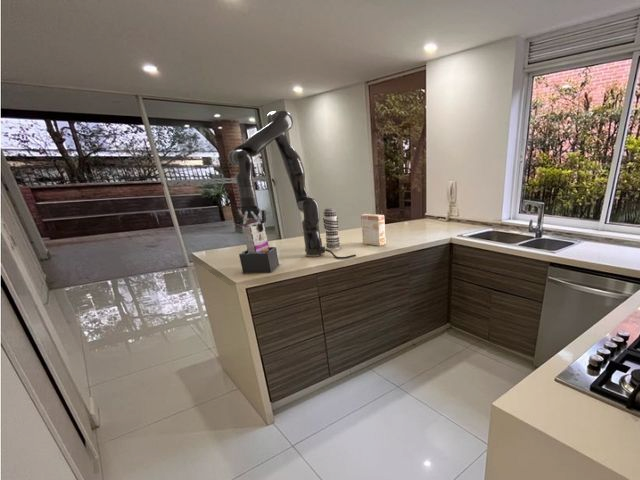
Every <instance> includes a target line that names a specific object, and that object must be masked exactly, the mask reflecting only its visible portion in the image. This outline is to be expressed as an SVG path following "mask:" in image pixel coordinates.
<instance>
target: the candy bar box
mask: <svg viewBox="0 0 640 480" xmlns="http://www.w3.org/2000/svg"><path fill="white" fill-rule="evenodd" d="M258 224H259V223H258V222H257V221H255V222H250V223H247V225H244V224H243V225H241V229H242V232H243V237H244V241H245V246H246V250H248V254H257V253H267V252H269V251H270V250H269V247H270V245H269V241H268V237H267V231H266V226H265V222H264V223H263V231H262V232H260V230H259V225H258Z"/></svg>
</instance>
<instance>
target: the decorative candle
mask: <svg viewBox="0 0 640 480" xmlns="http://www.w3.org/2000/svg"><path fill="white" fill-rule="evenodd" d="M322 212H323V218H322V223H323V228H324V231H325V242H326V243H325V245H326V250H329V251H335V250H340V249H341V245H340V244H341V243H340V236H339V226H338V225H339V223H338V222H339V221H338V220H339V217H338V216H337V210H336V209H335V208H334V207H327V208H324V209H323V211H322Z"/></svg>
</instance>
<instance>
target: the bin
mask: <svg viewBox="0 0 640 480" xmlns="http://www.w3.org/2000/svg"><path fill="white" fill-rule="evenodd" d="M269 250H270V251H269V252H267V253H257V254H248V250H247V249H245V250H243V251H241V252H240V253H239V254H238V257H239V262H240V265H241V266H240V267H241V270H242V274H271V273H272V272H273V271H275V270H276V269H277V268H278V267H279V265H280V261H279V256H278V249H277V246H269Z"/></svg>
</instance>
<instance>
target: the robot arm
mask: <svg viewBox="0 0 640 480" xmlns="http://www.w3.org/2000/svg"><path fill="white" fill-rule="evenodd" d="M266 120H267V121H266V122H267V125H266V126H265V127H263V128H261V129H260V130H258V131H256V132H255V133H253V134H251V136H250V137H248V138H247V139H246V140H245V141H244V142H243V143H241V144H239V145H238V146H236V147H234V148H233V149H231V151H229V153H228V158H227V159H228V162H229V163H230V164H231V165H232V166H234V167H235V168H236V167H237V168H238V172H236V174H235V182H236V185H237V193H238V198H239V203H240V207H241V208H240V209H237V210H235V211H234V213H235V215H236V219H237V221H238V223H239V224H243V226H244V225H247V224H249V219H255V221H256V222H258V223H259V224H258V225H259V230H260V232H262V231H263V223H264V224H265V223H266V222H267V211H266V209H260V208H259V203H258V199H257V198H258V197H257V192H256V189H255V184H254V180H253V168H254V167H253V165H254V163H253V162H254V161H253V157H256V156H258V155H259V154H260V153H261V152H262V151H263V150H264V149H266V147H267V146H268V145H270V144H271V143H273V141H275V143H276V145H277V148H278V151H279V154H280V157H281V159H282V162H283V165H284V169H285V171H286V174H287V176H288V180H289V182H290V185H291V188H292V190H293V194H294V199H295V202H296V206H297V209H298V211H300V212H301V213H303V220H302V221H301V226H302V235H303V241H304V248H305V249H304V251H305V257H310V258H314V257H315V258H316V257H321V256H323V254H326V252H327V253H330V254H331V255H332V256H333V257H334V258H335V259H341V260H342V259H349V258H353V257H356V254H351V255H346V256H337V255H336V254H335V253H334V252H333V251H332V250H328V249H327V248H326V246H323V242H322V241H323V240H322V238H321V232H320V224H319V223H320V210H319V209H320V207H319V203H318V201H317V200H316V199H315V198H313V197H311V196H309V194H308V191H307V188H306V173H305V172H306V171H305V168H304V164H303V161H302V158H301V157H300V155H299V154H298V152H297V150H296V149H295V148H294V147H293V146H292V144H291V143H290V141H289V139H288V136H287V133H286V132H288V131H290V130H291V129H292V128H293V124H294V122H293V117H292V115H291V113H290V112H288V111H287V110H283V109H278V110H273V111H270V112H269V113H268V114H267V116H266ZM259 214H260V215H261V216H260V215H259ZM242 215H244V216H242Z"/></svg>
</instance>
